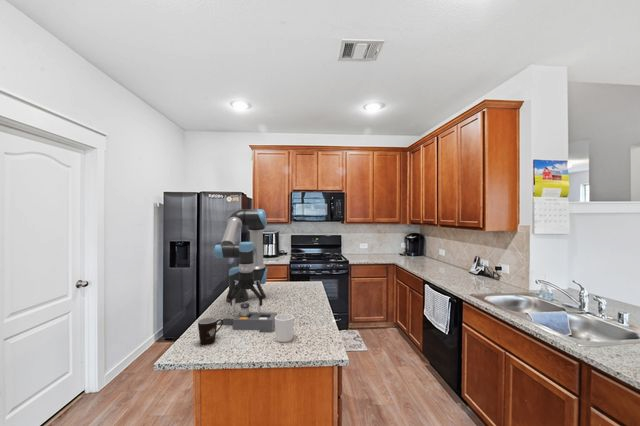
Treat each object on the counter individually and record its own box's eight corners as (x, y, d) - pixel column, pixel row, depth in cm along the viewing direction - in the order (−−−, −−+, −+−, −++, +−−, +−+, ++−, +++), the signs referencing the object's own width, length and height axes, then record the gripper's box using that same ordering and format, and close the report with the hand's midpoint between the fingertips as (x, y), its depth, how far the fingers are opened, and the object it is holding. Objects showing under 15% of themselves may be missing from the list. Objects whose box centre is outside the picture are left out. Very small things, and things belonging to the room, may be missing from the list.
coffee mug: (198, 347, 127) (198, 325, 127) (196, 340, 135) (196, 319, 135) (225, 342, 133) (225, 320, 133) (222, 335, 140) (222, 315, 140)
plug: (242, 322, 153) (242, 303, 153) (250, 322, 153) (250, 303, 153) (239, 325, 149) (239, 305, 149) (248, 325, 148) (248, 305, 149)
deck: (223, 320, 162) (223, 318, 162) (241, 320, 161) (241, 318, 161) (216, 327, 152) (216, 325, 152) (235, 327, 151) (235, 325, 151)
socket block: (240, 323, 157) (240, 311, 157) (276, 323, 156) (276, 311, 157) (232, 331, 145) (232, 319, 146) (272, 332, 144) (272, 319, 145)
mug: (285, 344, 130) (285, 321, 130) (270, 340, 135) (270, 318, 135) (300, 336, 139) (300, 314, 140) (285, 332, 144) (285, 311, 144)
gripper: (220, 272, 149) (220, 314, 148) (268, 272, 147) (268, 314, 147) (225, 270, 156) (225, 309, 156) (271, 270, 155) (271, 309, 155)
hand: (246, 312), depth 151 cm, fingers open, 13 cm apart
